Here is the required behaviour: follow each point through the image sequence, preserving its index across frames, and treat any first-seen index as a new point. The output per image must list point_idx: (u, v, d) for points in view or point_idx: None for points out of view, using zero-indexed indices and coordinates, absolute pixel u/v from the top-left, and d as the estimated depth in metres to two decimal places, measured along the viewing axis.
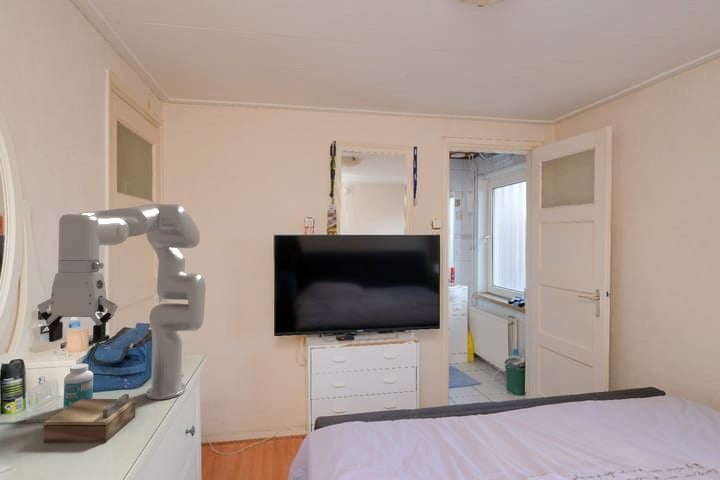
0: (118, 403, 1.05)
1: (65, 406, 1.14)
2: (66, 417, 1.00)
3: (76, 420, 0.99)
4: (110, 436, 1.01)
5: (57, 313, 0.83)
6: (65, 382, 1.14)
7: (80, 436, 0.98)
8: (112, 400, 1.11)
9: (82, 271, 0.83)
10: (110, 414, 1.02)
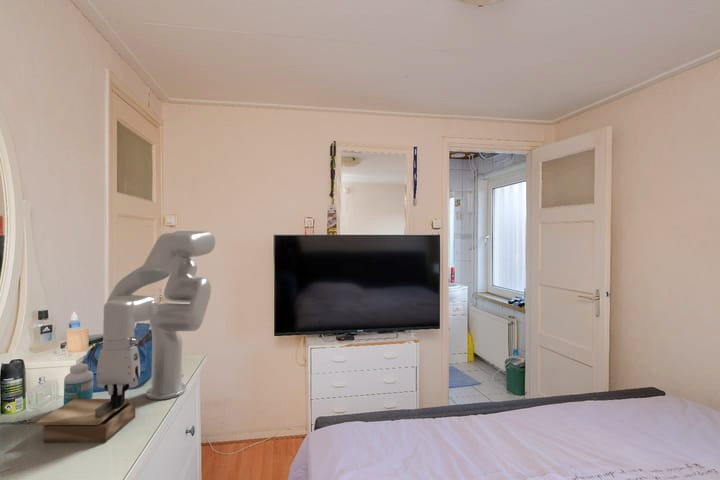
0: None
1: None
2: (58, 417, 1.00)
3: (68, 420, 0.99)
4: (110, 436, 1.01)
5: (102, 382, 1.03)
6: (65, 382, 1.14)
7: (80, 436, 0.98)
8: (105, 400, 1.11)
9: (122, 348, 1.03)
10: (102, 414, 1.02)
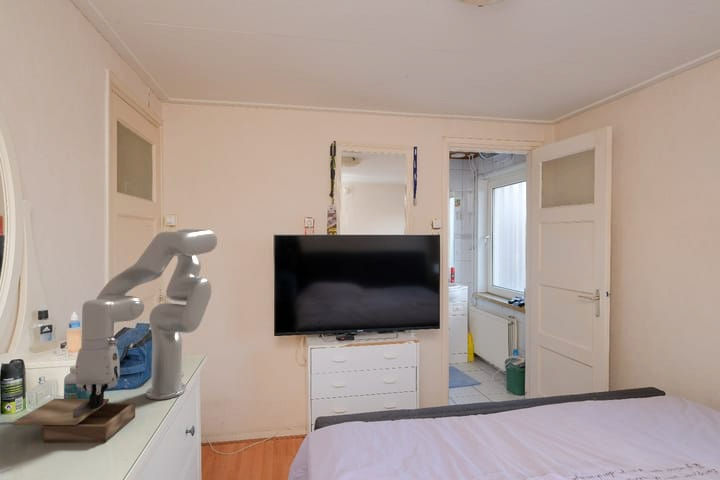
0: None
1: None
2: (36, 417, 1.00)
3: (46, 420, 0.99)
4: (110, 436, 1.01)
5: (80, 382, 1.03)
6: (65, 382, 1.14)
7: (80, 436, 0.98)
8: (85, 400, 1.11)
9: (101, 348, 1.03)
10: (81, 414, 1.02)
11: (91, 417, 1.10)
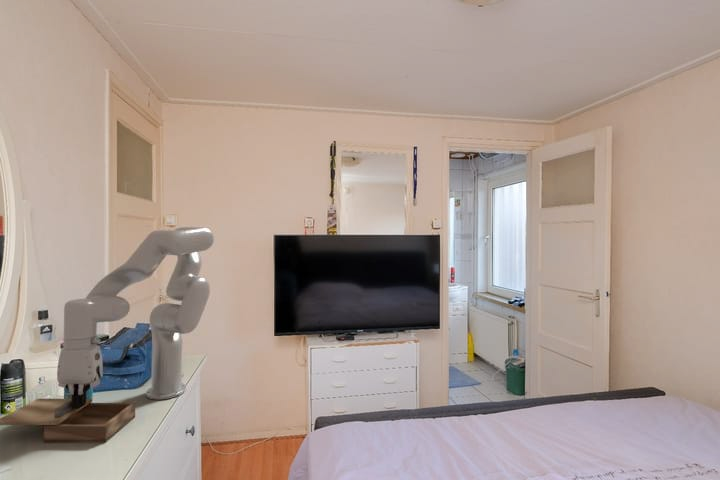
0: None
1: None
2: (17, 417, 1.00)
3: (27, 420, 0.98)
4: (110, 436, 1.01)
5: (62, 381, 1.03)
6: None
7: (80, 436, 0.98)
8: (68, 400, 1.11)
9: (83, 348, 1.02)
10: (62, 414, 1.01)
11: (91, 417, 1.10)
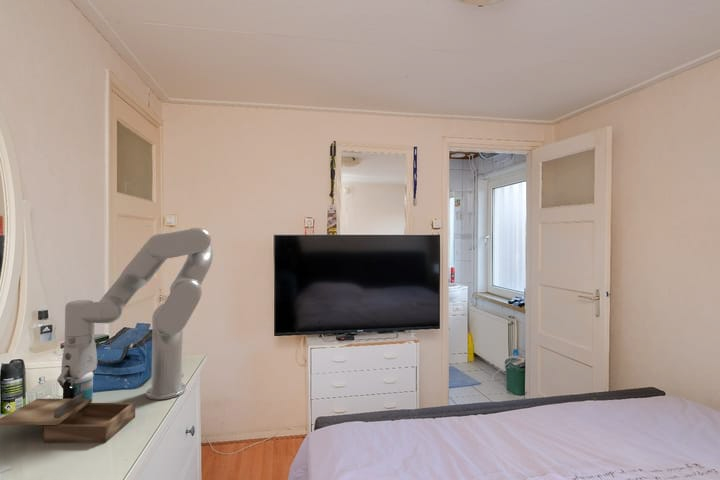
0: (72, 403, 1.05)
1: None
2: (17, 417, 1.00)
3: (26, 420, 0.98)
4: (110, 436, 1.01)
5: None
6: None
7: (80, 436, 0.98)
8: (68, 400, 1.11)
9: (64, 343, 1.15)
10: (62, 414, 1.01)
11: (91, 417, 1.10)
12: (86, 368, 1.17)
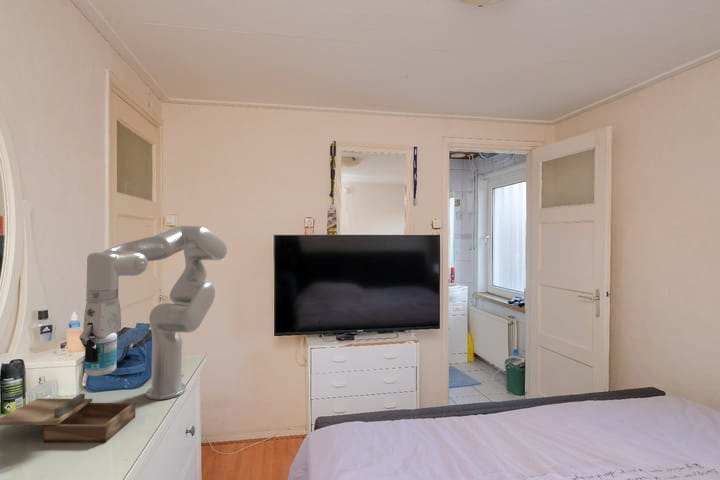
0: (72, 403, 1.05)
1: (87, 369, 1.02)
2: (17, 417, 1.00)
3: (26, 420, 0.98)
4: (110, 436, 1.01)
5: None
6: None
7: (80, 436, 0.98)
8: (68, 400, 1.11)
9: (86, 299, 1.02)
10: (62, 414, 1.01)
11: (91, 417, 1.10)
12: (110, 327, 1.05)
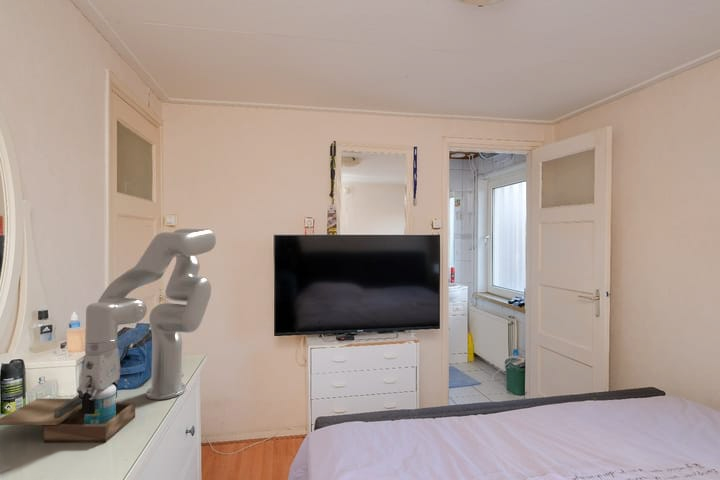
0: (72, 403, 1.05)
1: None
2: (17, 417, 1.00)
3: (26, 420, 0.98)
4: (110, 436, 1.01)
5: None
6: None
7: (80, 436, 0.98)
8: (68, 400, 1.11)
9: (85, 350, 1.03)
10: (62, 414, 1.01)
11: None
12: (109, 378, 1.05)
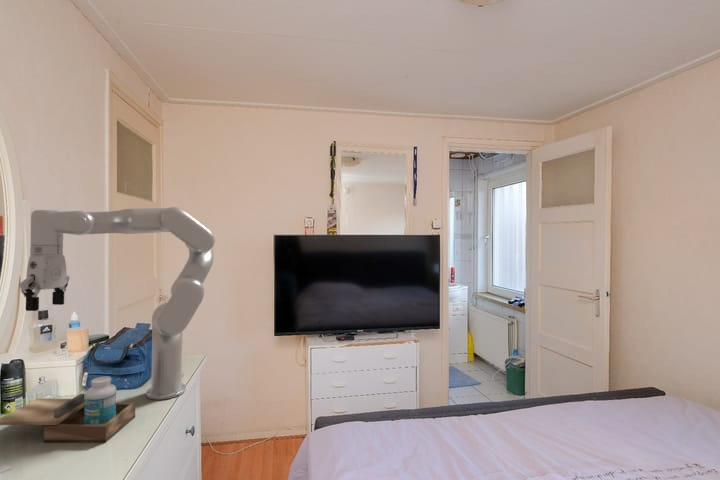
0: (72, 403, 1.05)
1: None
2: (17, 417, 1.00)
3: (26, 420, 0.98)
4: (110, 436, 1.01)
5: None
6: (86, 398, 1.02)
7: (80, 436, 0.98)
8: (68, 400, 1.11)
9: (30, 253, 1.08)
10: (62, 414, 1.01)
11: None
12: (54, 281, 1.11)
